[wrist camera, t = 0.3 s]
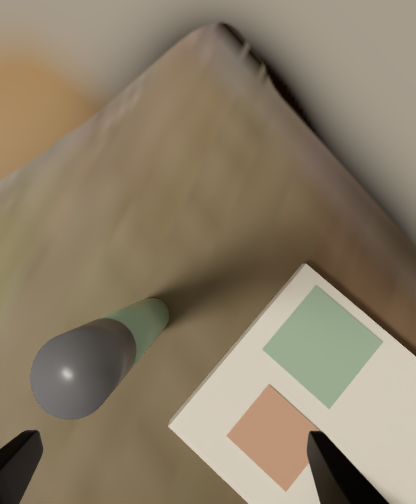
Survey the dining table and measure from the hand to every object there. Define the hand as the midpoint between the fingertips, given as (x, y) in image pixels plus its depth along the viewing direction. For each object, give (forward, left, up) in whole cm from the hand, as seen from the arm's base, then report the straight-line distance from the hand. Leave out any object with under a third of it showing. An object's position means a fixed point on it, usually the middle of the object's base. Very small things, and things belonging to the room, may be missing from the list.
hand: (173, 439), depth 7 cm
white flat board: (+2, -15, -15) cm, 21 cm away
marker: (-2, +4, -15) cm, 16 cm away
